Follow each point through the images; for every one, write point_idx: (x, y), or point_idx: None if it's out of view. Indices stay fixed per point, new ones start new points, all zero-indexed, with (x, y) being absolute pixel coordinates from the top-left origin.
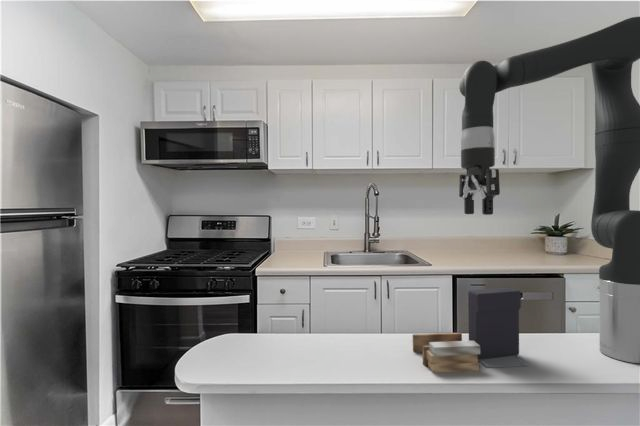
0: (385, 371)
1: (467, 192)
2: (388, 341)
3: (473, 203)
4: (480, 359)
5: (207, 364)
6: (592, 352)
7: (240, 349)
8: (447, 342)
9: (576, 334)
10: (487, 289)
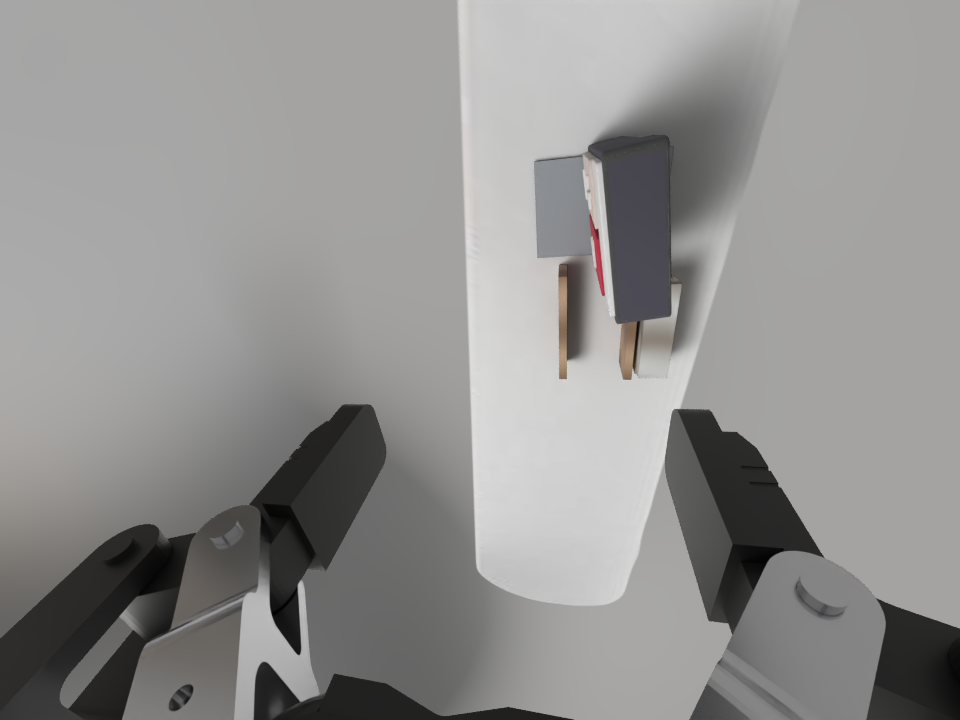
0: (636, 421)
1: (309, 671)
2: (510, 389)
3: (318, 472)
4: None
5: (577, 588)
6: None
7: (533, 564)
8: (647, 344)
9: None
10: (620, 260)
